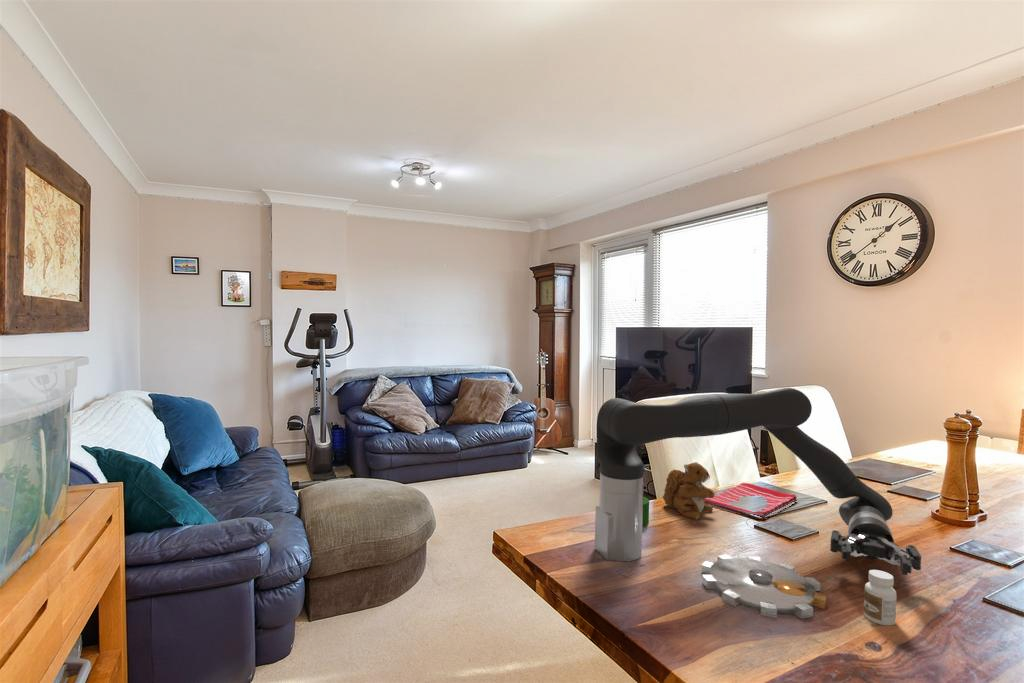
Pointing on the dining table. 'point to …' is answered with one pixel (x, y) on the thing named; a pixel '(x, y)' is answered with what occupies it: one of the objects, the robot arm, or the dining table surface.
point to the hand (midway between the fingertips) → (876, 563)
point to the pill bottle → (880, 598)
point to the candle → (645, 511)
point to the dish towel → (746, 489)
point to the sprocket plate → (763, 586)
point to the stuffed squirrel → (688, 490)
